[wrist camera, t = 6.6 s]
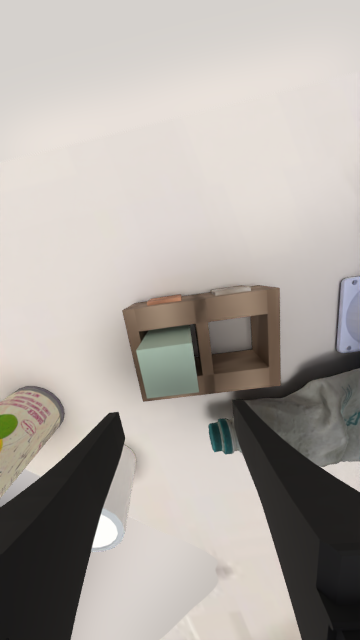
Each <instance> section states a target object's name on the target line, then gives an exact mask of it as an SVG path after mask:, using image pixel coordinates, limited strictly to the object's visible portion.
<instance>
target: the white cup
mask: <svg viewBox="0 0 360 640" xmlns="http://www.w3.org/2000/svg"><path fill="white" fill-rule="evenodd" d="M135 466H136V457H135V454H134V453H133V451H132V450H131V449H130V448H128V447H127V446H125V445H124V446H123V450H122V454H121V458H120V461H119V464H118V466H117V469H116V472H115V475H114V478H113V481H112V483H111V486H110V489H109V492H108V495H107V498H106V500H105V503H104V506H103V509H102V513H101V516H100V519H99V523H98V527H97V530H96V534H95V538H94V541H93V545H92V549H91V552H99V551H106V550H109V549H112V548H114V547H115V546H117V545H118V544H119V543H120V542H121V541H122V539H123V536H124V534H125V528H126V522H127V516H128V510H129V503H130V497H131V491H132V485H133V478H134V472H135Z"/></svg>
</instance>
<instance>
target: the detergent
mask: <svg viewBox="0 0 360 640" xmlns="http://www.w3.org/2000/svg"><path fill="white" fill-rule="evenodd" d="M244 401H245V402H246V403H247V404H248V405H249V406H250V408H251V409H252V410H253V411H254V412H255V413H256V414H257V415H258V416H259V417H260V418H261V419H262V420H263V421H264V422H265V423H266V424H267V425H268V426H269V427H270V428H271V429H272V430H274V431H275V432H276V433H277V434H278V435H279V436H280V437H281V438H283V439H284V440H285V441H286V442H287V443H289V444H290V445H291V446H292V447H293V448H295V449H296V450H297V451H299V452H300V453H301V454H302V455H304V456H305V457H306V458H308V459H309V460H311V461H312V462H313V463H315V464H316V465H318V466H321V467H325V466H327V465H330V464H337V463H339V462H340V461H343V462H345V461H351V462H352V461H360V368H358V369H354V370H351V371H348V372H344V373H341V374H337V375H334V376H331V377H325V378H321V379H317V380H313V381H310V382H308V383H307V384H306V385H305V386H304V387H303V388H302V389H300V390H298V391H296V392H294V393H292V394H290V395H288V396H286V397H284V398H263V399H255V400H247V401H246V400H244ZM209 435H210V440H211V445H212V449H213V450H214V452H218V451H223V452H224V454H232V453H234V451H237V450H239V451H240V452H241V453H242V451H241V448H240V445H239V442H238V439H237V435H236V431H235V428H234V417H233V418H232V419H231V420H228V419H226V418H225V419H218V422H217V423H211V424H209ZM242 454H243V453H242Z"/></svg>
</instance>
